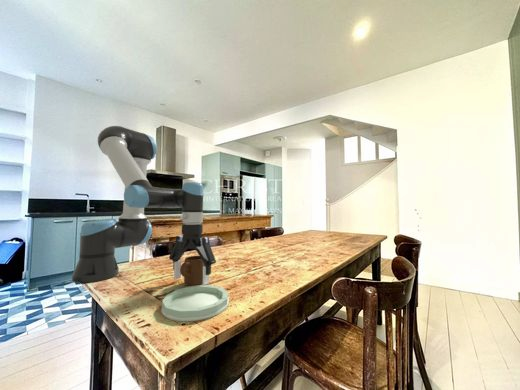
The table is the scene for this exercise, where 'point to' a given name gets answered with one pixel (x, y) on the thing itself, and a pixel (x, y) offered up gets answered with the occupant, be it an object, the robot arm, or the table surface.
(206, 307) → the shallow round dish
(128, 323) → the table surface
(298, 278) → the table surface
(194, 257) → the mug
